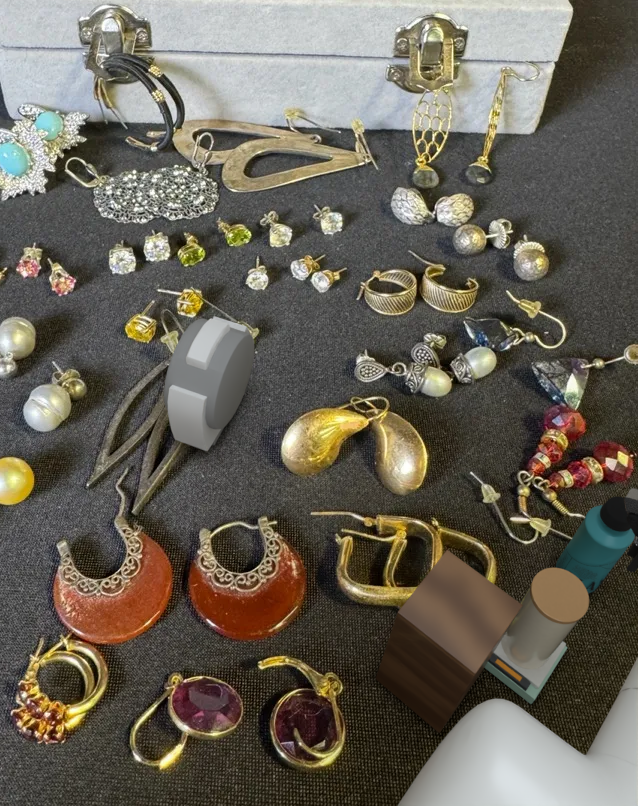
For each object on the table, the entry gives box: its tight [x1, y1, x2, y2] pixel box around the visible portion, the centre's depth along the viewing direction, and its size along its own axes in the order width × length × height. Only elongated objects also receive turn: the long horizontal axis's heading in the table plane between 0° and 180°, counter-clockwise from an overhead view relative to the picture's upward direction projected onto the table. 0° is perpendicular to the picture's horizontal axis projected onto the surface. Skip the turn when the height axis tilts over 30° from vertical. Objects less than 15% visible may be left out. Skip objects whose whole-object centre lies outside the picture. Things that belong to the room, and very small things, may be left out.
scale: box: [484, 641, 568, 705], centre depth 107 cm, size 9×9×3 cm
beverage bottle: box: [555, 495, 636, 595], centre depth 108 cm, size 6×7×20 cm
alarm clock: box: [163, 315, 255, 452], centre depth 126 cm, size 18×8×20 cm, turn 157°
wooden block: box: [375, 549, 523, 734], centre depth 98 cm, size 10×10×22 cm
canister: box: [501, 567, 590, 669], centre depth 100 cm, size 7×7×16 cm
